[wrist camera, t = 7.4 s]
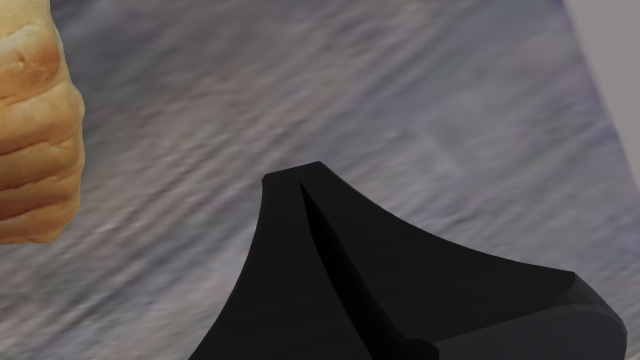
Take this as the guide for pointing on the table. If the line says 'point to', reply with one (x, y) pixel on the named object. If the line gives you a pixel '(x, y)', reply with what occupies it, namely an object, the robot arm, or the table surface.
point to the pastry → (37, 127)
